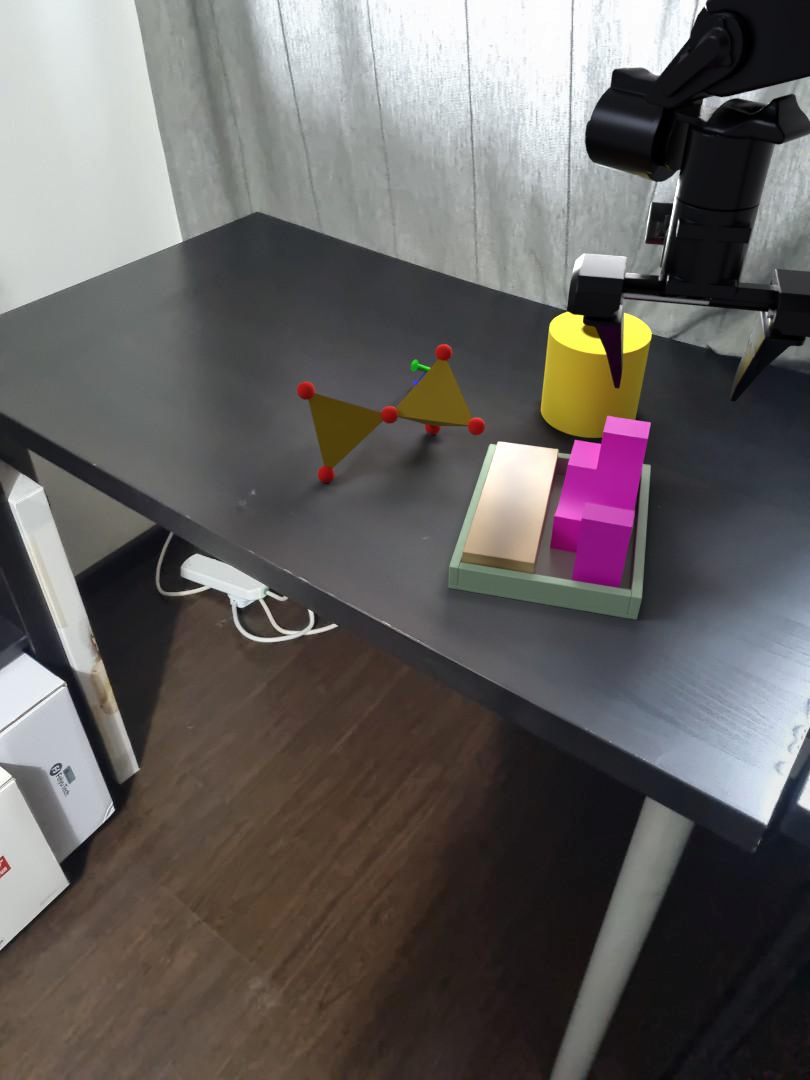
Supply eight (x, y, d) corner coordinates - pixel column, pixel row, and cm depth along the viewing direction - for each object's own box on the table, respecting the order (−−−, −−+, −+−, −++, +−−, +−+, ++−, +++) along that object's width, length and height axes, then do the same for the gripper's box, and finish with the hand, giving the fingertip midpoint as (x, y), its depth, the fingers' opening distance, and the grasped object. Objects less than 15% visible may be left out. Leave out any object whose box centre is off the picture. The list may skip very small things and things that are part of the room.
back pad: (555, 475, 79) (559, 449, 77) (531, 590, 67) (534, 563, 65) (496, 466, 80) (497, 441, 78) (461, 579, 68) (462, 551, 66)
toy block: (569, 479, 79) (579, 411, 74) (636, 491, 77) (650, 422, 72) (539, 583, 68) (548, 512, 63) (617, 599, 66) (632, 527, 61)
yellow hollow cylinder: (650, 432, 85) (667, 349, 79) (556, 442, 84) (566, 358, 78) (616, 384, 93) (630, 304, 87) (529, 392, 92) (537, 312, 85)
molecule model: (273, 402, 88) (273, 312, 79) (430, 381, 94) (447, 294, 84) (311, 519, 80) (316, 434, 70) (481, 488, 85) (507, 405, 76)
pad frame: (646, 485, 78) (650, 464, 77) (636, 620, 65) (642, 598, 63) (488, 463, 81) (489, 443, 80) (448, 588, 68) (448, 566, 67)
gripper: (844, 170, 62) (785, 358, 72) (592, 156, 66) (570, 336, 76) (868, 222, 54) (797, 426, 64) (578, 203, 58) (555, 398, 68)
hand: (674, 392), depth 68 cm, fingers open, 9 cm apart
